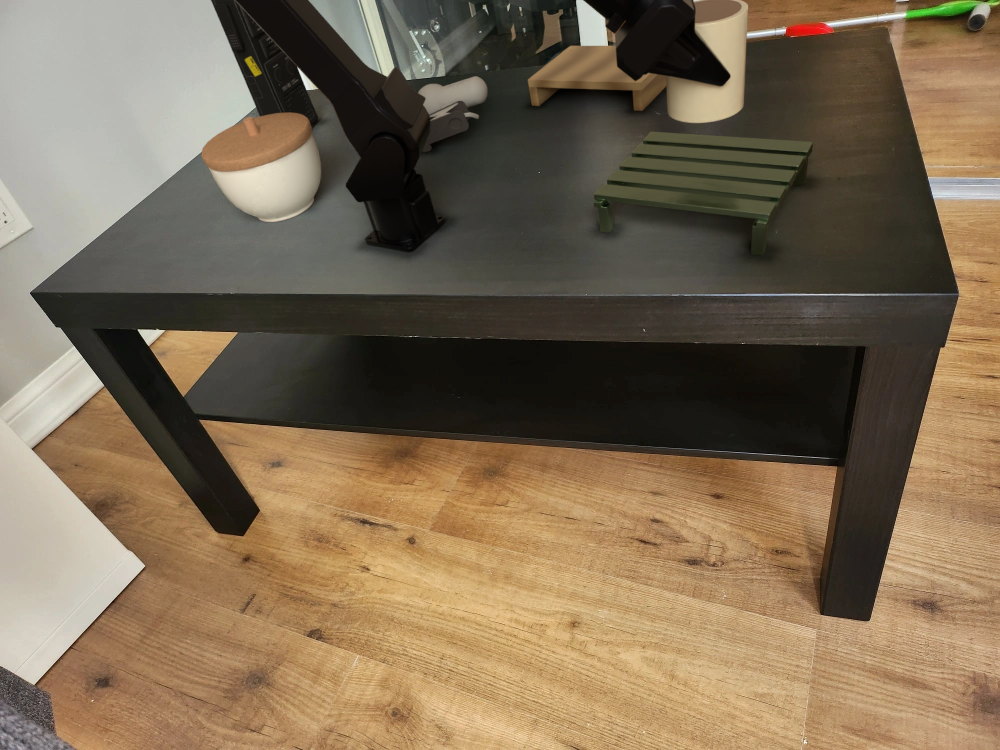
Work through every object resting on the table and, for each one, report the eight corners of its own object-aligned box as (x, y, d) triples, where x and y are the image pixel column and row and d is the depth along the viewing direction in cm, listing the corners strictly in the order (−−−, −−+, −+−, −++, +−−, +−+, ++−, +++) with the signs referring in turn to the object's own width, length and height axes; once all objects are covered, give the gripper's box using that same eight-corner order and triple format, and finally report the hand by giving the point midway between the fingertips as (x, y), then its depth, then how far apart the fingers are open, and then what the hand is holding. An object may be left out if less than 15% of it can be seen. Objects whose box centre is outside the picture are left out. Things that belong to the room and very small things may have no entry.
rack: (595, 233, 68) (591, 196, 65) (653, 165, 76) (652, 129, 73) (765, 258, 60) (767, 216, 57) (810, 179, 68) (814, 139, 65)
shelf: (531, 105, 95) (527, 79, 93) (573, 70, 102) (570, 45, 99) (642, 111, 87) (640, 82, 85) (679, 72, 94) (678, 45, 91)
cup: (660, 100, 66) (657, 8, 61) (732, 86, 65) (735, -8, 60) (675, 128, 61) (673, 30, 56) (753, 114, 60) (758, 13, 55)
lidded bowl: (348, 206, 83) (314, 114, 76) (244, 247, 80) (199, 156, 73) (321, 171, 92) (289, 86, 85) (227, 207, 89) (186, 122, 82)
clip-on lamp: (361, 174, 96) (471, 143, 87) (335, 133, 92) (447, 96, 83) (396, 128, 103) (501, 95, 94) (372, 88, 99) (480, 49, 90)
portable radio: (295, 144, 101) (216, -53, 85) (261, 145, 103) (178, -46, 87) (322, 120, 106) (253, -70, 90) (290, 122, 108) (217, -63, 92)
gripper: (656, -142, 44) (825, 17, 49) (643, -174, 58) (777, -47, 62) (548, 14, 51) (706, 140, 56) (560, -48, 64) (686, 58, 69)
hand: (721, 66), depth 61 cm, fingers closed on cup, 6 cm apart
